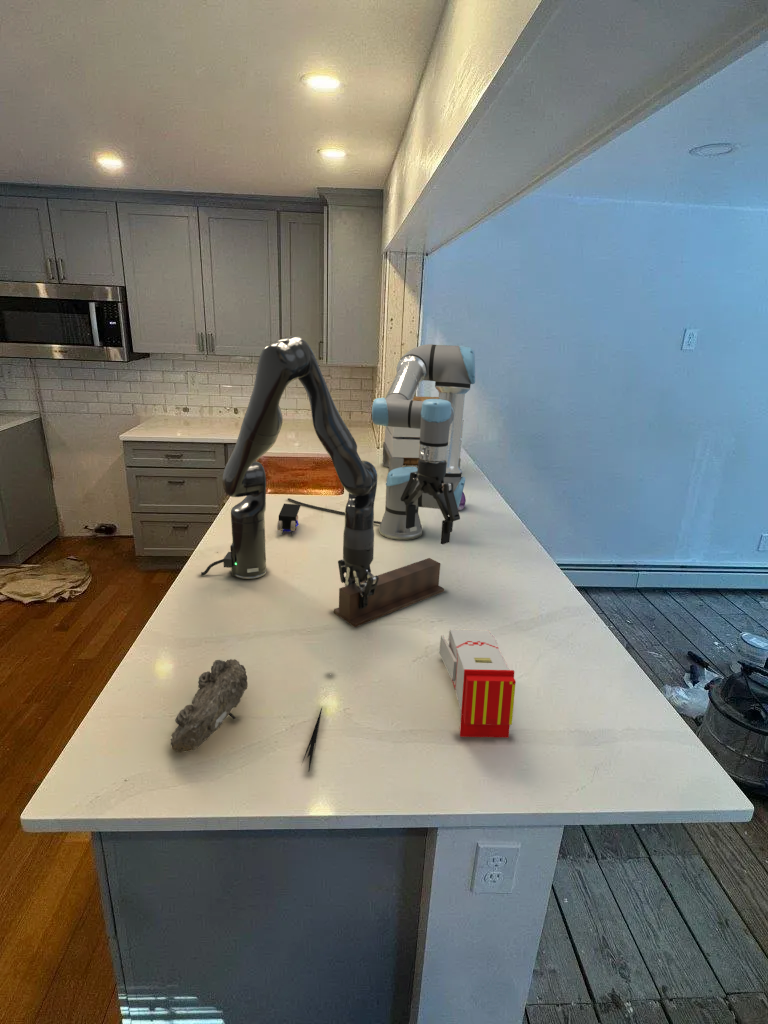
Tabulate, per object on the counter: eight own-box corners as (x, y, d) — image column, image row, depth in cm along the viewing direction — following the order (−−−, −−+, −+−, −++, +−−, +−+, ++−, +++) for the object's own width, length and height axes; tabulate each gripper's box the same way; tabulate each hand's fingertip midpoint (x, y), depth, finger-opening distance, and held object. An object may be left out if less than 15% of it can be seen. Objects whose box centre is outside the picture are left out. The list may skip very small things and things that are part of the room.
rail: (354, 627, 140) (355, 598, 138) (333, 612, 147) (333, 585, 144) (444, 591, 160) (446, 566, 158) (422, 579, 167) (423, 555, 164)
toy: (489, 613, 130) (525, 677, 101) (485, 667, 133) (518, 744, 104) (437, 612, 130) (457, 676, 101) (434, 666, 133) (453, 743, 103)
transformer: (381, 463, 289) (385, 382, 275) (444, 464, 292) (450, 384, 279) (389, 482, 257) (393, 392, 243) (459, 483, 261) (467, 394, 247)
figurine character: (296, 541, 193) (301, 521, 206) (295, 521, 189) (301, 502, 203) (276, 540, 193) (283, 520, 206) (275, 520, 189) (282, 501, 203)
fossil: (195, 660, 117) (247, 628, 112) (227, 691, 120) (279, 661, 115) (146, 746, 98) (206, 711, 93) (185, 779, 101) (245, 748, 96)
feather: (331, 679, 122) (336, 673, 122) (307, 777, 96) (313, 769, 95) (324, 675, 122) (329, 669, 121) (298, 772, 95) (304, 764, 95)
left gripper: (329, 536, 142) (328, 597, 148) (364, 556, 132) (362, 620, 138) (352, 530, 147) (351, 589, 152) (389, 548, 136) (386, 611, 142)
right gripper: (390, 451, 155) (386, 524, 162) (458, 473, 137) (451, 553, 144) (410, 448, 159) (406, 518, 166) (478, 468, 142) (470, 546, 149)
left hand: (356, 603), depth 145 cm, fingers closed on rail, 4 cm apart
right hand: (427, 535), depth 155 cm, fingers open, 13 cm apart
